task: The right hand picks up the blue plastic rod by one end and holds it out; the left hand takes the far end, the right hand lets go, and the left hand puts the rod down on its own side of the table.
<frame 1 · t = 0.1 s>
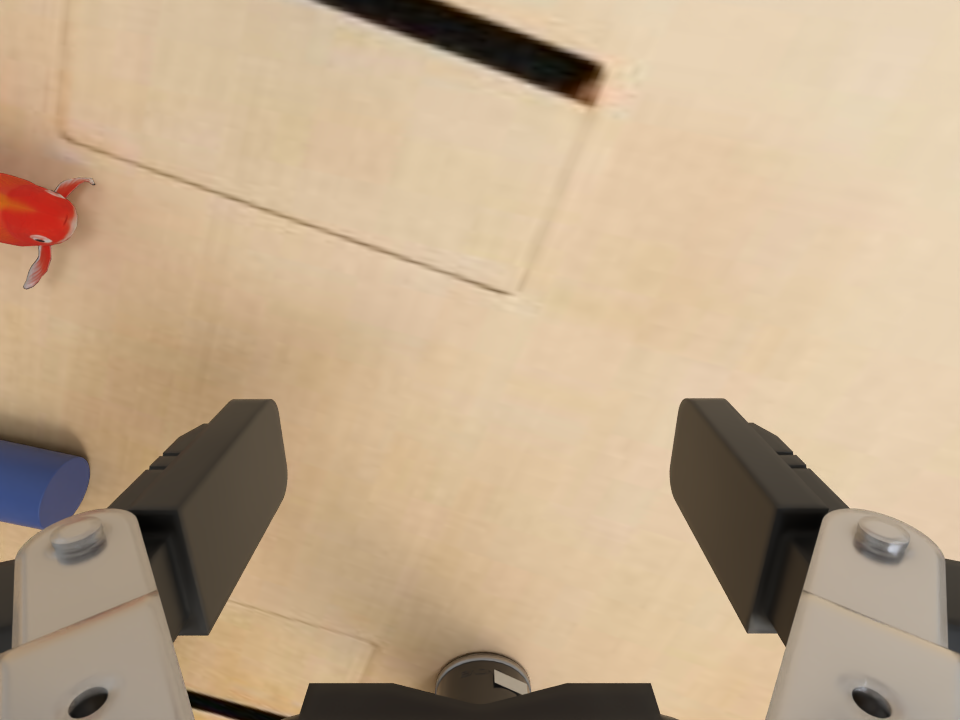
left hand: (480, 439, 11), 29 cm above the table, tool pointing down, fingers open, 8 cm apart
fish: (11, 197, 37), on the table
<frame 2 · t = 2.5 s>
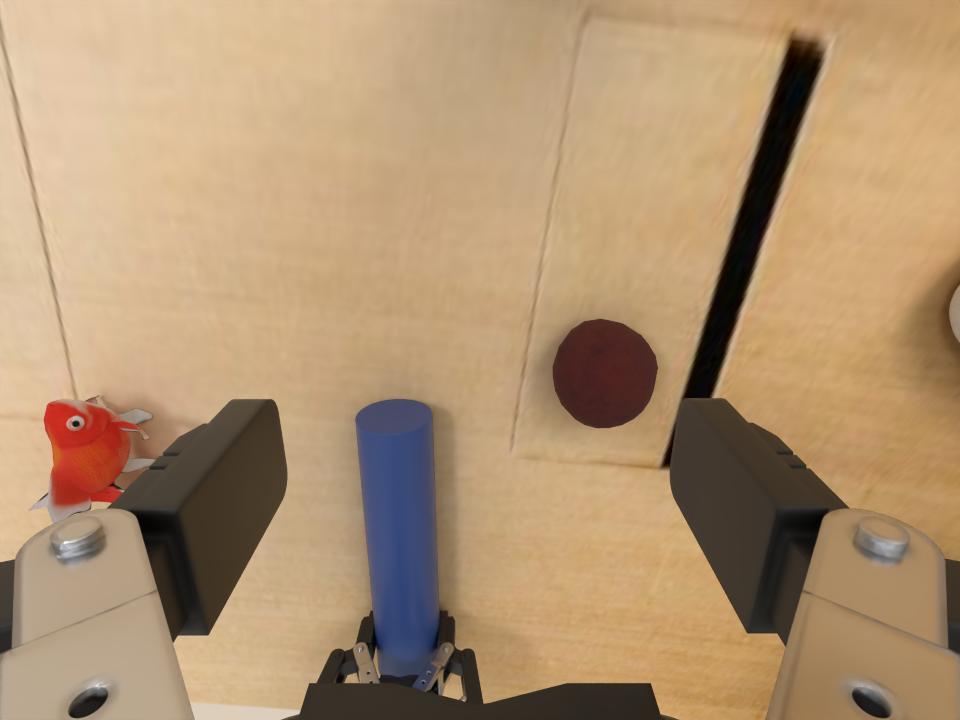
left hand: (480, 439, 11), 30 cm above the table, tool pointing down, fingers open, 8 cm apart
rod: (406, 528, 49), on the table, touching right hand
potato: (594, 354, 43), on the table
fish: (147, 454, 46), on the table
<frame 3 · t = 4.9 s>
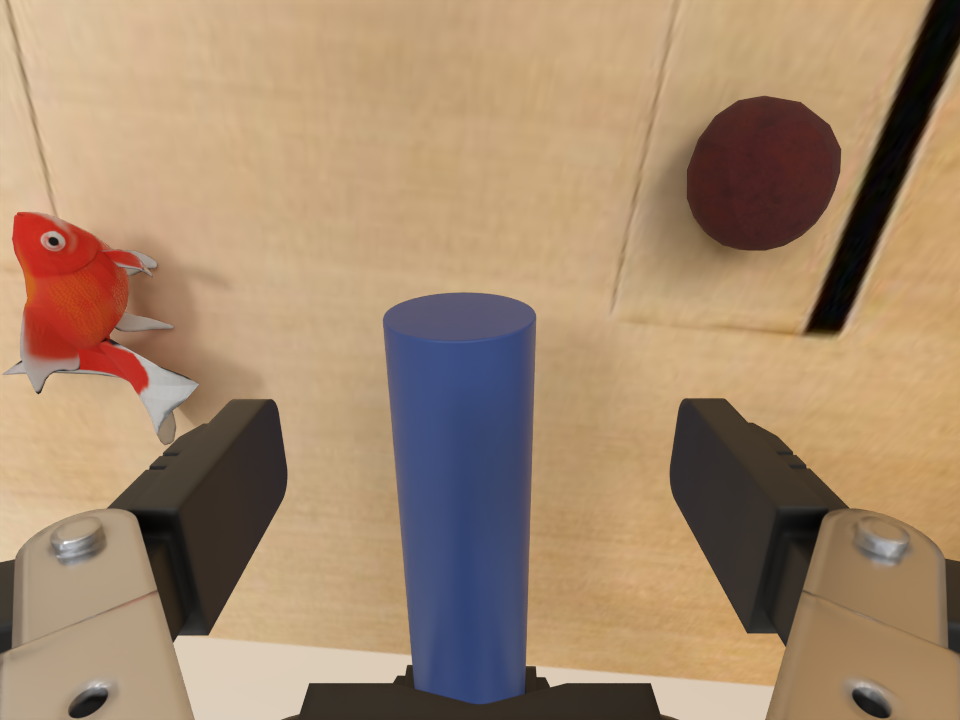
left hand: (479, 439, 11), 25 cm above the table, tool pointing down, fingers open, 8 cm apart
rod: (469, 530, 28), point 12 cm above the table, touching right hand
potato: (731, 169, 32), on the table
fish: (152, 319, 37), on the table
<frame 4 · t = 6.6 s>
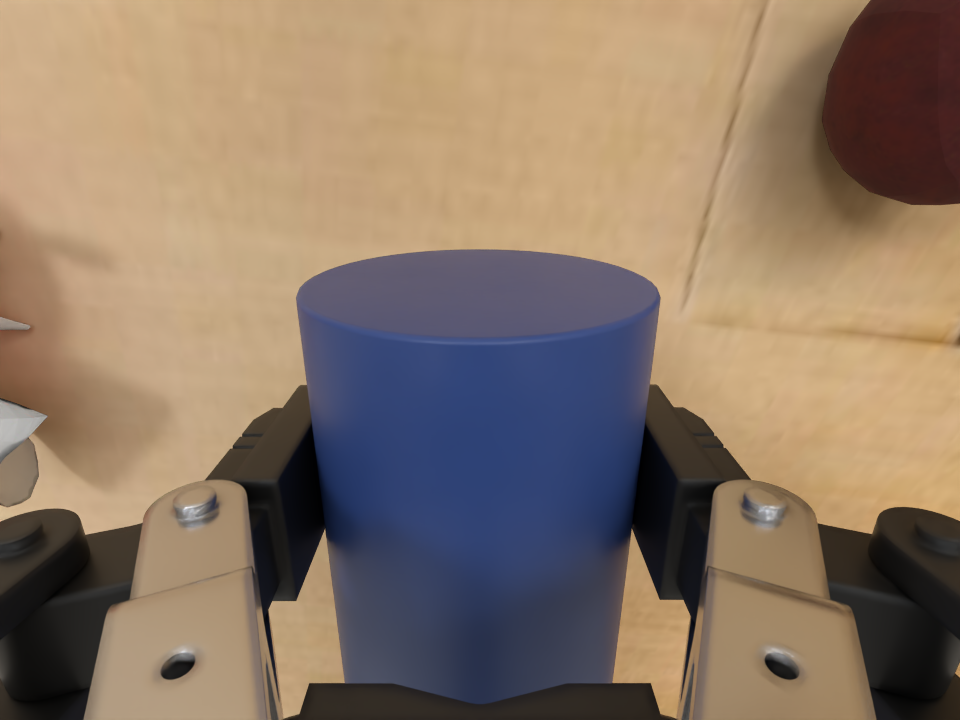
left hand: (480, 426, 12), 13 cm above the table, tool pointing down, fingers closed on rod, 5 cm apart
rod: (479, 676, 16), point 12 cm above the table, touching left hand, right hand
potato: (878, 89, 21), on the table
when the right hand's fingers open (13 cm above the table, at t = 7.8 s): rod stays where it is, held by the left hand.
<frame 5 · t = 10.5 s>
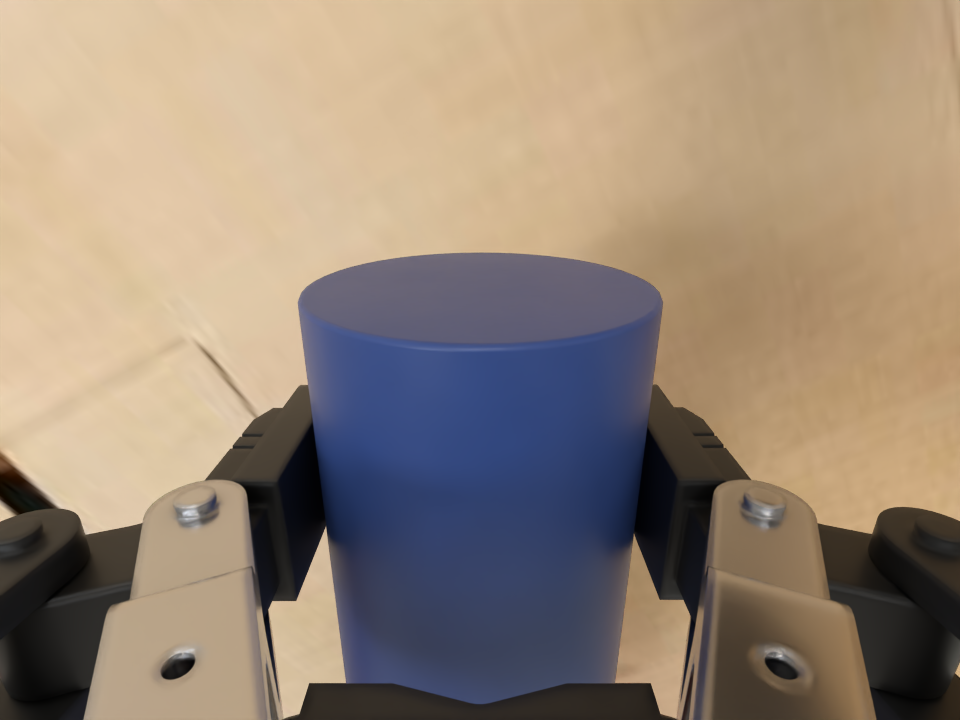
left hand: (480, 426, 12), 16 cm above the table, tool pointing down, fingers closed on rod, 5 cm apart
rod: (480, 679, 16), point 14 cm above the table, touching left hand
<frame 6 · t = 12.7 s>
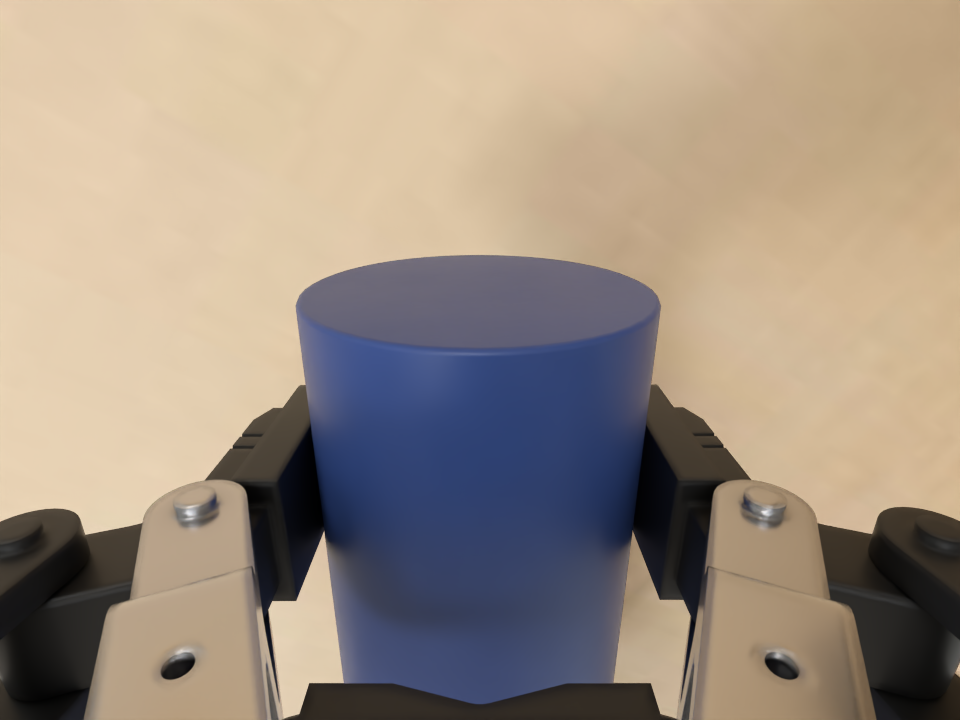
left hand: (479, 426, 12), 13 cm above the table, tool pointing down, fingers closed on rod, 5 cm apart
rod: (479, 681, 16), point 12 cm above the table, touching left hand
when the left hand's fingers open (3 cm above the table, at t = 14.4 s): rod drops 1 cm, on the table.
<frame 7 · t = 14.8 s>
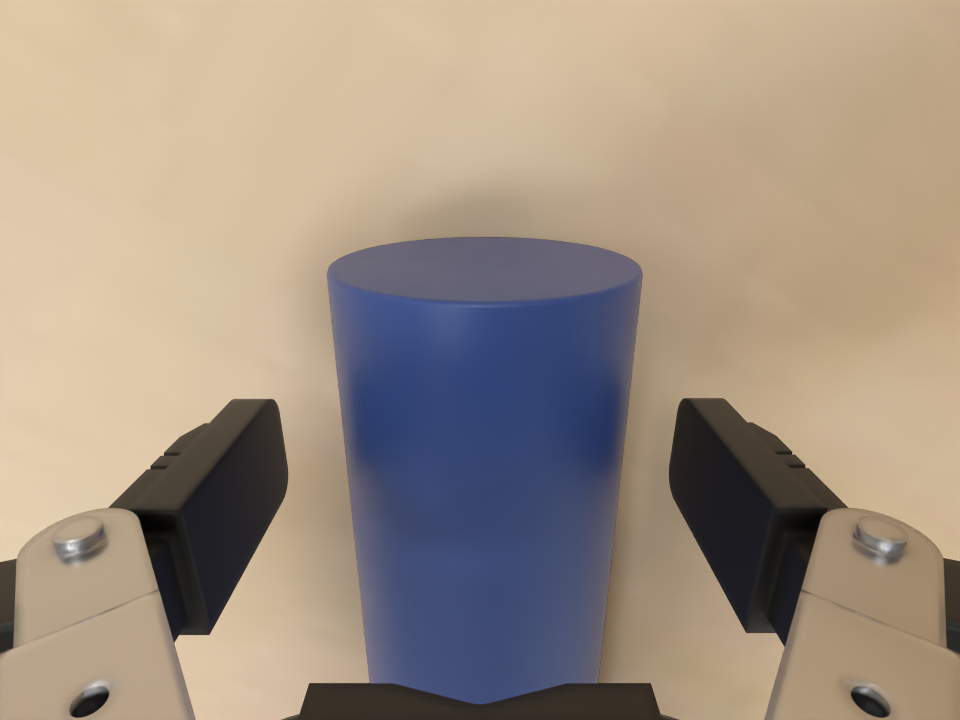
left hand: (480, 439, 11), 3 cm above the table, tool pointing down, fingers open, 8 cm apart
rod: (483, 637, 18), on the table
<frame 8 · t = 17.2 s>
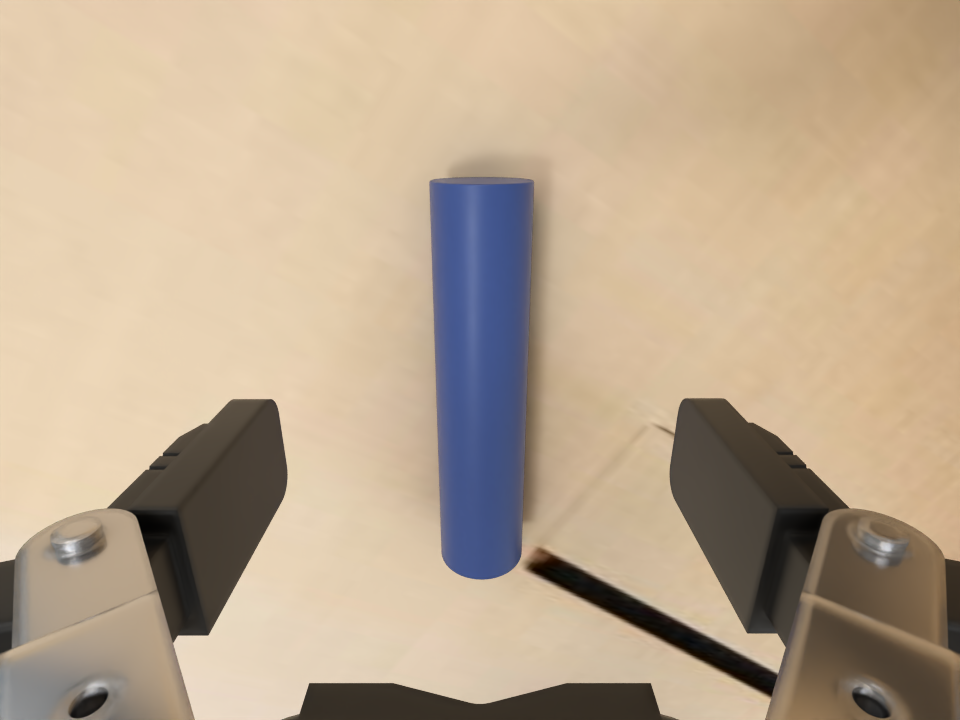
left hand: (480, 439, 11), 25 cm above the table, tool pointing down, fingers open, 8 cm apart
rod: (481, 372, 38), on the table
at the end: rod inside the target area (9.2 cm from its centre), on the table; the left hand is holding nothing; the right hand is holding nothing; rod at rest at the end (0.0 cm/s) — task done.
